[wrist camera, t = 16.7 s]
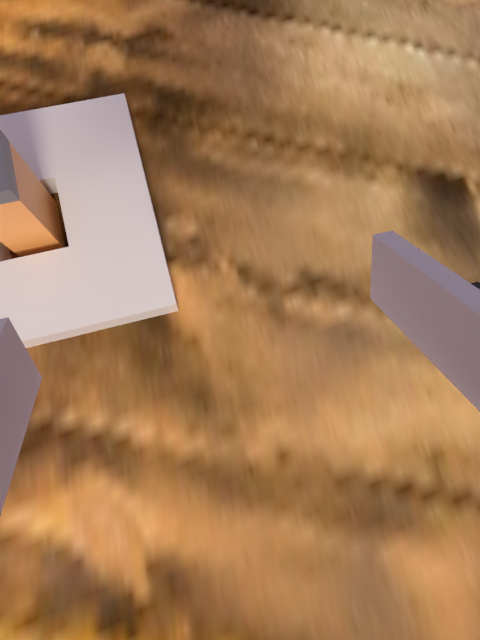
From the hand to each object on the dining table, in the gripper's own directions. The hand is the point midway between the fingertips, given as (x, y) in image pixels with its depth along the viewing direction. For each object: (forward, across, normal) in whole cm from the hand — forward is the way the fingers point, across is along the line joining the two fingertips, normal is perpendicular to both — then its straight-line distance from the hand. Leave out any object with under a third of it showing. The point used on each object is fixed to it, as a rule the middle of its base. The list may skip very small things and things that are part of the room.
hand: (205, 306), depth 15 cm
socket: (+28, -13, -4) cm, 31 cm away
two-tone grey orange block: (+28, -13, -4) cm, 31 cm away
